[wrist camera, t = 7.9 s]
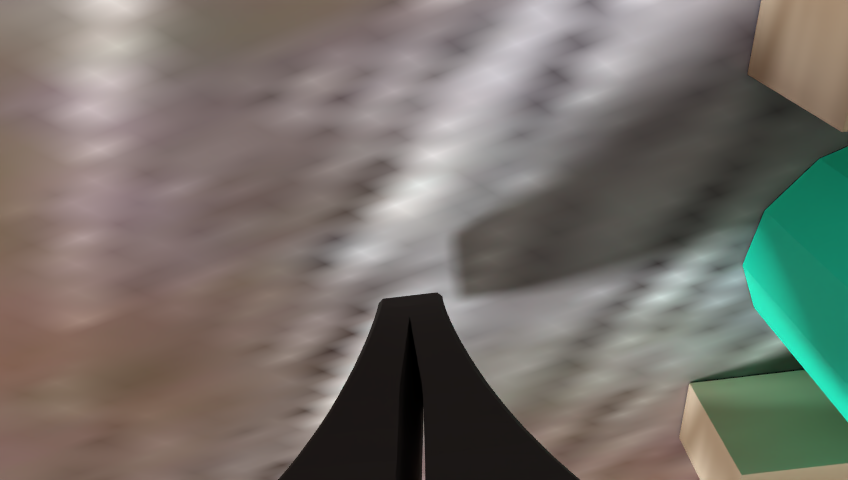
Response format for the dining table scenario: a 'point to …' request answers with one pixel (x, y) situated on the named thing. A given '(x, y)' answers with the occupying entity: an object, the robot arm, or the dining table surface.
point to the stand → (790, 391)
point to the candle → (808, 273)
